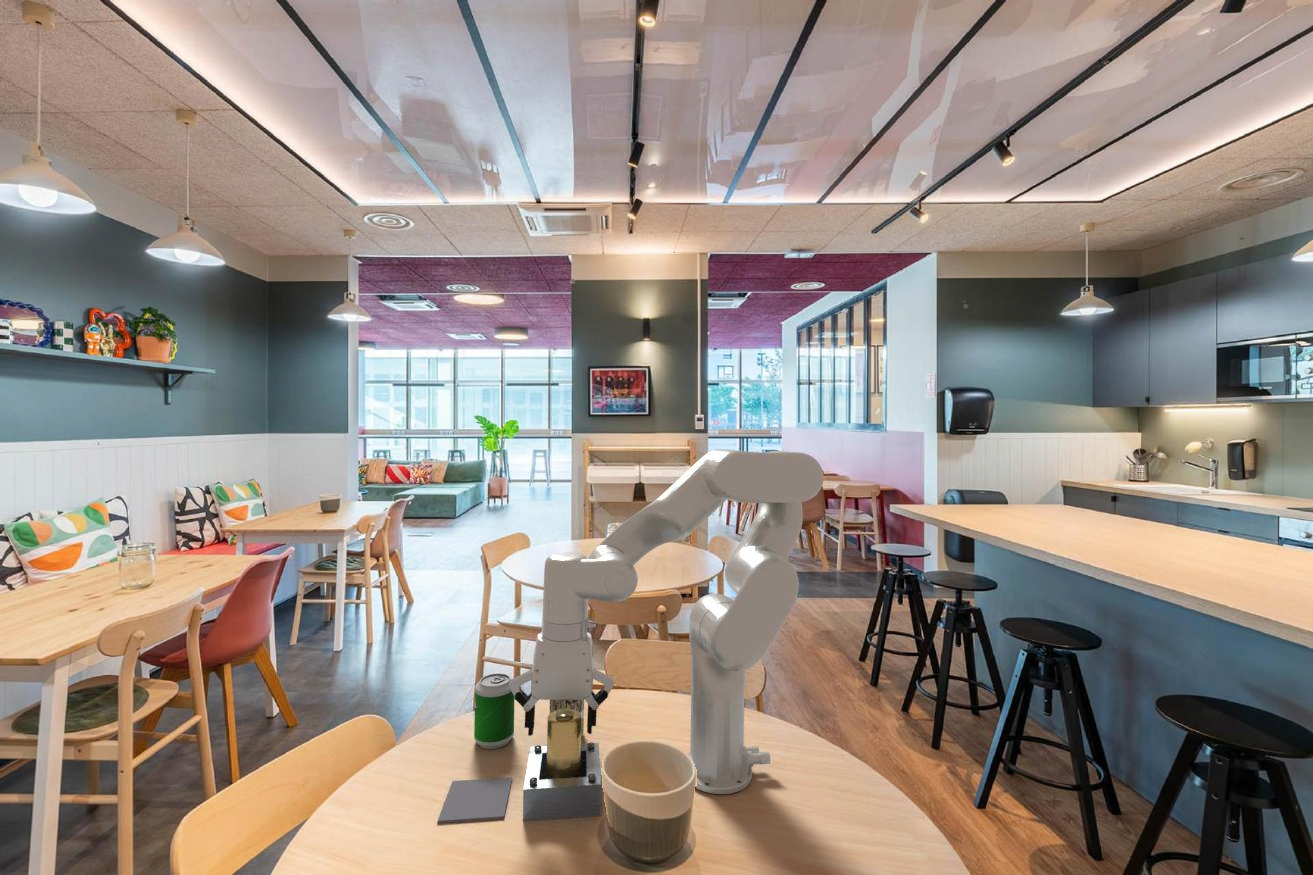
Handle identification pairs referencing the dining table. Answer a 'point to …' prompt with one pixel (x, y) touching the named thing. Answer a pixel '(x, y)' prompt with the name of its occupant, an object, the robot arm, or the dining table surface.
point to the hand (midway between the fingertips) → (560, 730)
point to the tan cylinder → (563, 744)
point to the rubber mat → (476, 800)
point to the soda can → (493, 711)
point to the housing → (562, 787)
